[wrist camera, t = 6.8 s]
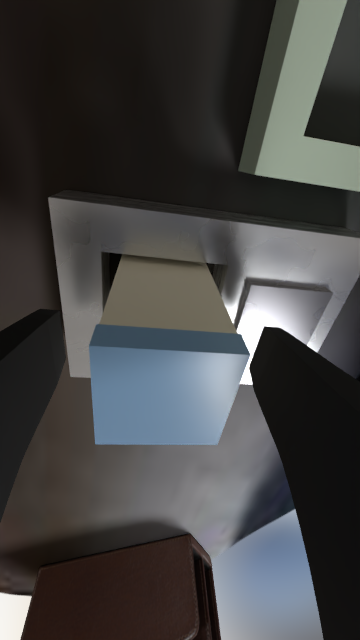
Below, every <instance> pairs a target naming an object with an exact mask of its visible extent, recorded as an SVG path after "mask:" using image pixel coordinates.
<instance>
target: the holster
mask: <svg viewBox="0 0 360 640" xmlns="http://www.w3.org/2000/svg"><path fill="white" fill-rule="evenodd" d="M346 2H347V0H277V1H276V5H275V9H274V14H273V18H272V23H271V27H270V32H269V36H268V41H267V45H266V49H265V54H264V58H263V63H262V67H261V72H260V76H259V80H258V85H257V89H256V94H255V98H254V103H253V107H252V112H251V116H250V120H249V125H248V129H247V134H246V138H245V143H244V147H243V152H242V156H241V160H240V165H239V169H238V171H241V172H245V173H249V174H253V175H259V176H265V177H271V178H278V179H284V180H290V181H296V182H303V183H309V184H315V185H321V186H328V187H334V188H340V189H346V190H353V191H359V192H360V147H359V146H353V145H348V144H343V143H337V142H332V141H327V140H321V139H316V138H311V137H305V136H303V135H304V132H305V129H306V126H307V123H308V120H309V117H310V114H311V111H312V108H313V104H314V101H315V98H316V95H317V92H318V89H319V86H320V83H321V80H322V77H323V74H324V70H325V67H326V64H327V61H328V58H329V55H330V52H331V49H332V46H333V43H334V39H335V36H336V33H337V30H338V27H339V24H340V21H341V18H342V15H343V12H344V8H345V5H346Z"/></svg>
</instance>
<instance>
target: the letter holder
mask: <svg viewBox="0 0 360 640" xmlns="http://www.w3.org/2000/svg"><path fill="white" fill-rule="evenodd" d="M21 640H221V636H220V629H219V619H218V611H217V603H216V596H215V589H214V580H213V572H212V564H211V559H210V557H209V555H208V554H207V553H206V552H205V550H204V549H203V548H202V547H201V546H200V545H199V543H198V542H197V541H196V540H195V539H194V537H193V536H192V535H191V534H186V535H181V536H176V537H171V538H167V539H162V540H158V541H153V542H148V543H144V544H139V545H135V546H130V547H125V548H121V549H116V550H112V551H107V552H103V553H98V554H93V555H89V556H84V557H80V558H75V559H71V560H66V561H62V562H57V563H52V564H48V565H43V566H41V567H40V568H39V570H38V574H37V579H36V583H35V587H34V591H33V594H32V598H31V602H30V606H29V610H28V613H27V617H26V621H25V625H24V629H23V632H22V636H21Z"/></svg>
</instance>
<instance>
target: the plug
mask: <svg viewBox="0 0 360 640" xmlns="http://www.w3.org/2000/svg"><path fill="white" fill-rule="evenodd" d="M89 356H90V371H91V386H92V401H93V416H94V431H95V444H138V445H217V444H218V442H219V439H220V436H221V434H222V431H223V428H224V425H225V423H226V420H227V417H228V415H229V412H230V409H231V407H232V404H233V401H234V399H235V396H236V393H237V391H238V388H239V385H240V383H241V380H242V377H243V374H244V372H245V369H246V366H247V364H248V361H249V358H250V356H251V355H250V352H249V350H248V348H247V346H246V344H245V342H244V339H243V337H242V335H241V334H238V333H237V331H236V329H235V327H234V324H233V322H232V320H231V318H230V315H229V313H228V311H227V309H226V306H225V304H224V302H223V300H222V298H221V295H220V293H219V291H218V289H217V286H216V284H215V282H214V280H213V277H212V275H211V273H210V271H209V269H208V266H207V264H206V263H203V262H193V261H184V260H174V259H165V258H156V257H146V256H137V255H128V254H122V257H121V260H120V263H119V266H118V269H117V272H116V275H115V278H114V281H113V284H112V287H111V290H110V293H109V296H108V299H107V302H106V305H105V308H104V311H103V314H102V317H101V320H100V323H99V324H96V326H95V329H94V332H93V335H92V338H91V341H90V344H89Z"/></svg>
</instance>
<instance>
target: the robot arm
mask: <svg viewBox="0 0 360 640" xmlns="http://www.w3.org/2000/svg"><path fill="white" fill-rule="evenodd" d="M65 358H66V355H65V347H64V340H63V332H62V325H61V317H60V310H47V309H39V310H37V311H35V312H33V313H31V314H30V315H28V316H26V317H24V318H23V319H21V320H19V321H17V322H16V323H14V324H12V325H11V326H9V327H7V328H5V329H4V330H2V331H0V522H1V519H2V516H3V513H4V510H5V507H6V504H7V501H8V498H9V495H10V492H11V490H12V487H13V484H14V481H15V478H16V476H17V473H18V470H19V467H20V465H21V462H22V459H23V457H24V455H25V452H26V450H27V448H28V445H29V443H30V441H31V439H32V437H33V435H34V433H35V431H36V428H37V426H38V424H39V422H40V420H41V418H42V416H43V414H44V412H45V410H46V407H47V405H48V403H49V401H50V399H51V397H52V395H53V392H54V390H55V388H56V386H57V384H58V381H59V378H60V375H61V372H62V368H63V365H64V362H65ZM249 371H250V376H251V380H252V384H253V388H254V392H255V394H256V397H257V399H258V402H259V405H260V407H261V410H262V412H263V415H264V417H265V420H266V422H267V424H268V427H269V429H270V432H271V434H272V437H273V439H274V442H275V444H276V447H277V449H278V452H279V455H280V458H281V460H282V463H283V467H284V470H285V474H286V477H287V480H288V484H289V487H290V491H291V494H292V498H293V502H294V505H295V509H296V513H297V517H298V520H299V524H300V528H301V533H302V536H303V541H304V545H305V550H306V554H307V558H308V562H309V567H310V571H311V576H312V581H313V586H314V591H315V596H316V601H317V606H318V611H319V616H320V621H321V627H322V633H323V638H324V640H360V382H359V381H358V380H356V379H355V378H353V377H352V376H350V375H349V374H347V373H345V372H344V371H343V370H341V369H340V368H338V367H337V366H335V365H334V364H332V363H331V362H329V361H328V360H327V359H325V358H324V357H322V356H321V355H319V354H318V353H317V352H315V351H314V350H312V349H311V348H310V347H308V346H307V345H305V344H304V343H303V342H301V341H300V340H298V339H297V338H295V337H294V336H293V335H291V334H290V333H288V332H286V331H285V330H283V329H281V328H279V327H266V326H264V328H263V330H262V333H261V336H260V338H259V341H258V344H257V346H256V349H255V352H254V354H253V357H252V360H251V362H250V365H249Z"/></svg>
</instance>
